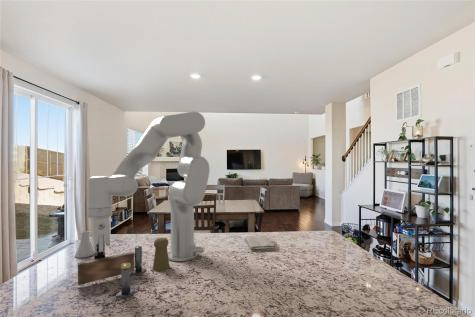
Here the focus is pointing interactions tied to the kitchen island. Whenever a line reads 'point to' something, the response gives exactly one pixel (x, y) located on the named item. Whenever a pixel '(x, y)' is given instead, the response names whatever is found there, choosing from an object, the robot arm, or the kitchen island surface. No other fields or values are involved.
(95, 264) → the brown wooden plank
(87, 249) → the flask
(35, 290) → the kitchen island surface
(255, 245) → the washcloth
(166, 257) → the olive rounded lobed piece
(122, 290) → the grey upright posts
